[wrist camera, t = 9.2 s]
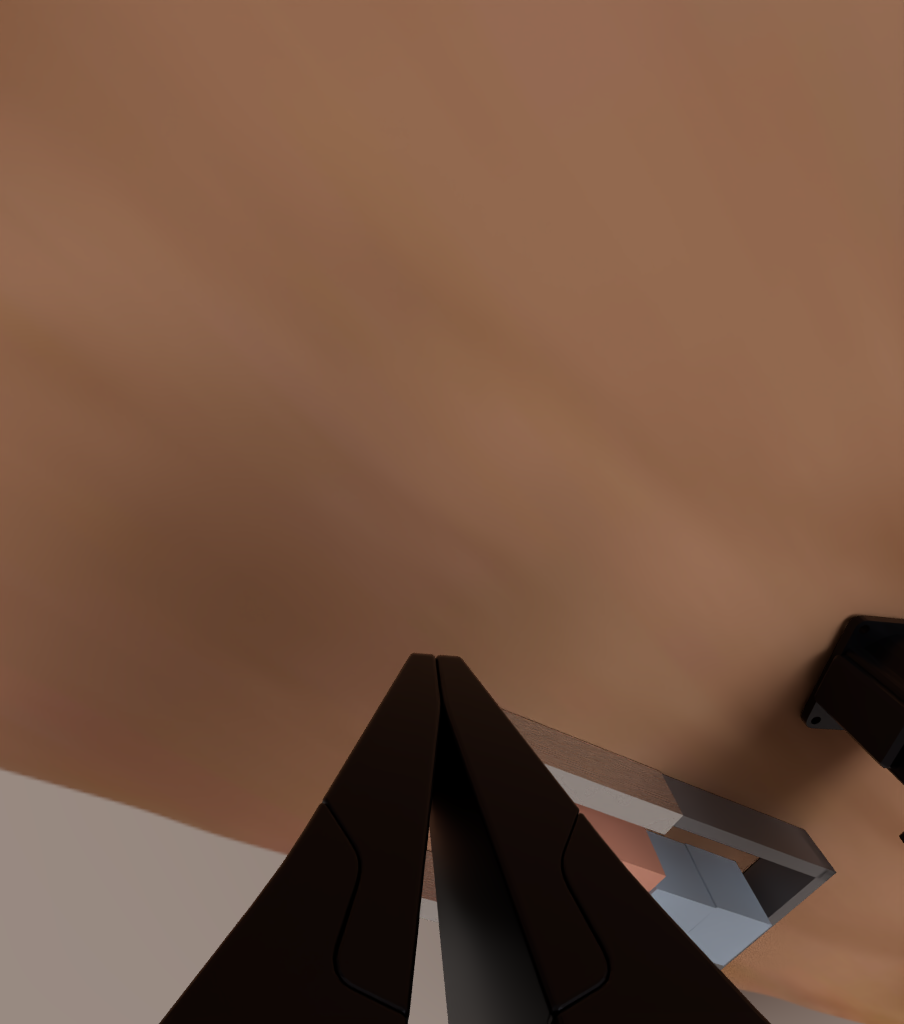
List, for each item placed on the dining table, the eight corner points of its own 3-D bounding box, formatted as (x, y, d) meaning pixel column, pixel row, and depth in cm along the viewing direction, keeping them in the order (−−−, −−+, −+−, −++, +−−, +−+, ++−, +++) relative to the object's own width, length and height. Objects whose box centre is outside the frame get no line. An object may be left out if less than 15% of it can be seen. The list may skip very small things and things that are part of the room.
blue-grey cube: (734, 859, 31) (771, 925, 27) (692, 898, 32) (723, 965, 29) (684, 841, 30) (717, 907, 26) (642, 882, 31) (669, 949, 28)
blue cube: (683, 842, 30) (715, 908, 26) (641, 882, 31) (668, 950, 28) (629, 822, 29) (657, 889, 25) (589, 865, 30) (610, 933, 27)
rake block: (637, 811, 28) (666, 876, 25) (585, 864, 30) (606, 932, 27) (535, 771, 27) (552, 836, 24) (486, 830, 28) (495, 898, 25)
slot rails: (660, 771, 27) (683, 815, 25) (539, 903, 31) (549, 952, 28) (465, 695, 24) (471, 736, 22) (357, 850, 28) (352, 900, 25)
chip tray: (804, 830, 30) (836, 872, 28) (679, 942, 33) (698, 988, 31) (660, 773, 27) (682, 815, 25) (541, 902, 31) (550, 949, 28)
